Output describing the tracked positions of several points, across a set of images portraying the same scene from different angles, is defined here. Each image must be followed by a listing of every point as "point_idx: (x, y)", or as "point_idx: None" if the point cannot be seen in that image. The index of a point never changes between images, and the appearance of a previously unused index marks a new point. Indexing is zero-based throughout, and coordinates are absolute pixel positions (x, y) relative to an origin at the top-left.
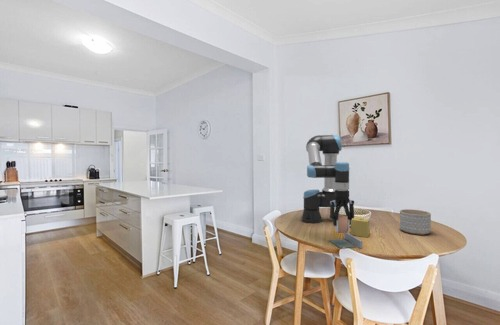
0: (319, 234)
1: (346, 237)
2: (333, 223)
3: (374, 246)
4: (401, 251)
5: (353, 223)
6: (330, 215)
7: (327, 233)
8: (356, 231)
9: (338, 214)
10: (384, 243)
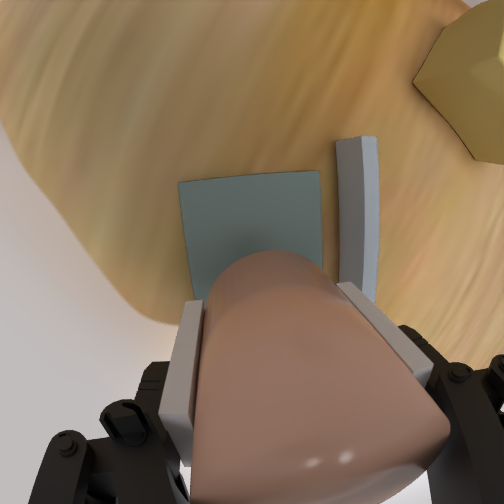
0: (161, 25)
1: (345, 175)
2: (142, 385)
3: (425, 309)
4: (463, 355)
5: (489, 85)
6: (51, 487)
7: (243, 6)
8: (457, 109)
9: (309, 448)
10: (483, 266)
